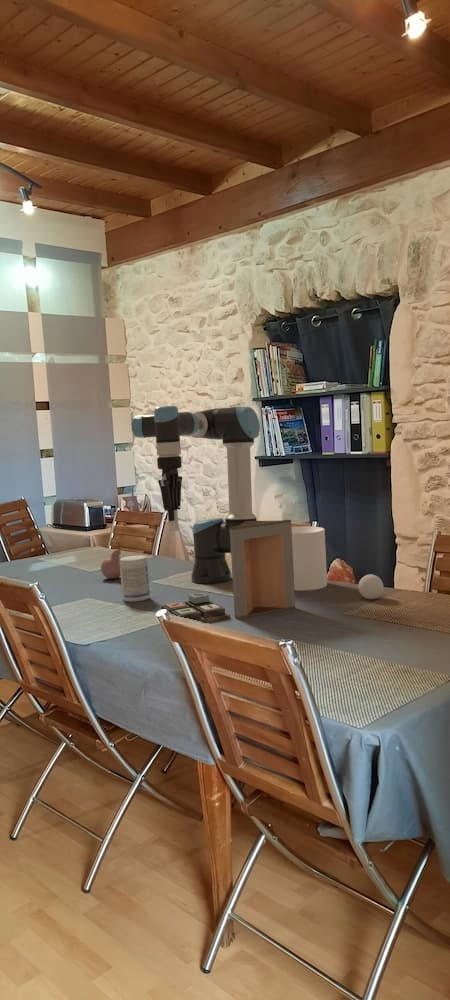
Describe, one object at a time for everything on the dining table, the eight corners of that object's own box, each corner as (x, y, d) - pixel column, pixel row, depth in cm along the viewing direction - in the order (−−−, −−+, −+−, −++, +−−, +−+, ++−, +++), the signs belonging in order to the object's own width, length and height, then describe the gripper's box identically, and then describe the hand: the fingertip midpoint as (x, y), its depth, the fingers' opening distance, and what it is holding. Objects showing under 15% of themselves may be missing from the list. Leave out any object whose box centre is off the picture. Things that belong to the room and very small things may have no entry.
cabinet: (237, 619, 229) (232, 527, 226) (222, 612, 238) (217, 524, 235) (295, 607, 239) (291, 520, 236) (279, 602, 247) (275, 517, 244)
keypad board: (206, 606, 248) (206, 597, 248) (230, 618, 231) (229, 608, 230) (157, 614, 241) (156, 604, 241) (178, 627, 224) (177, 617, 224)
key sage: (190, 614, 233) (190, 607, 233) (196, 617, 229) (196, 610, 229) (175, 616, 231) (175, 609, 231) (181, 620, 227) (180, 613, 227)
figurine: (133, 577, 303) (130, 547, 301) (108, 582, 296) (106, 551, 295) (121, 574, 310) (119, 545, 308) (97, 579, 303) (95, 549, 302)
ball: (388, 597, 245) (387, 573, 244) (375, 603, 239) (374, 578, 238) (367, 595, 250) (366, 571, 249) (353, 600, 244) (352, 575, 243)
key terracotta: (180, 608, 242) (180, 601, 241) (186, 611, 237) (185, 604, 237) (165, 610, 240) (165, 603, 239) (171, 614, 235) (170, 607, 235)
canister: (276, 589, 266) (273, 533, 264) (289, 580, 280) (287, 526, 278) (320, 591, 260) (317, 533, 257) (331, 581, 274) (329, 526, 272)
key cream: (214, 610, 237) (214, 603, 236) (220, 613, 232) (220, 606, 232) (199, 612, 235) (199, 605, 234) (205, 616, 230) (205, 609, 230)
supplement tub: (154, 599, 262) (151, 557, 261) (130, 604, 257) (126, 561, 256) (141, 594, 270) (139, 554, 269) (117, 599, 265) (114, 558, 264)
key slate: (203, 598, 245) (202, 591, 244) (209, 601, 240) (208, 594, 240) (188, 600, 243) (188, 594, 242) (194, 603, 238) (194, 596, 238)
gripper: (167, 455, 244) (171, 527, 246) (148, 457, 232) (154, 534, 234) (188, 454, 241) (193, 527, 243) (170, 456, 229) (176, 534, 231)
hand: (173, 530), depth 239 cm, fingers closed
